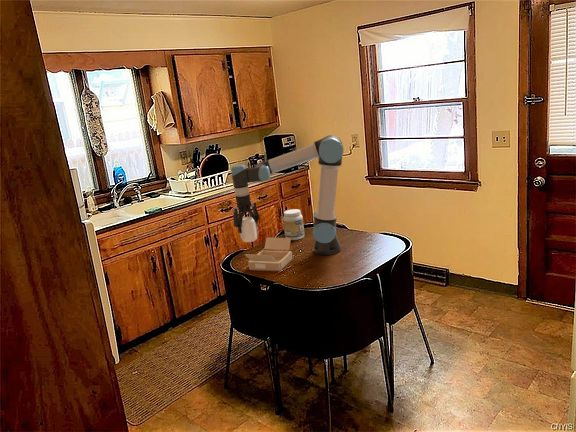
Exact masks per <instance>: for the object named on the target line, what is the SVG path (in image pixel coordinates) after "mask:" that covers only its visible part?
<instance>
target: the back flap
mask: <svg viewBox="0 0 576 432" xmlns="http://www.w3.org/2000/svg"><path fill="white" fill-rule="evenodd" d="M291 241H292V240H291V238H286V237H266V238H265V244H264V249H263V250H272V251H290V247H291Z"/></svg>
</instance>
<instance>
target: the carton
mask: <svg viewBox="0 0 576 432" xmlns="http://www.w3.org/2000/svg"><path fill="white" fill-rule="evenodd" d="M256 255H272V257H273V258H274V259H275V260H276V262H266V261H250V260H249V259H248V261H247V264H248V269H249V270H250V271H264V272H279V273H280V272H281V271H282V270H284V268H285V267H286V266H287V265H288V264H290V263H291V262H292V261H293V259H294V257H293V251H291V250H267V249H262V250H261V251H259V252H258V253H257V254H256Z"/></svg>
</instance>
